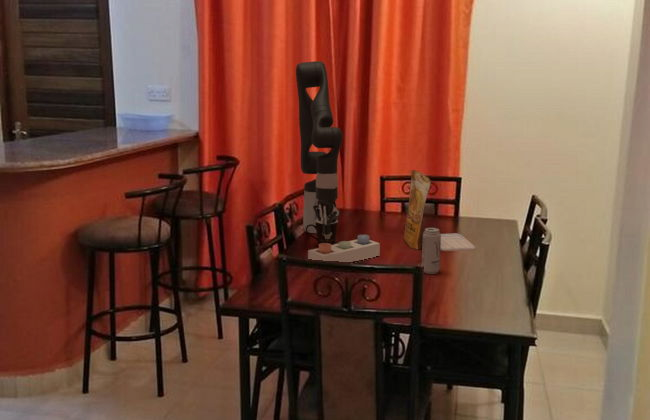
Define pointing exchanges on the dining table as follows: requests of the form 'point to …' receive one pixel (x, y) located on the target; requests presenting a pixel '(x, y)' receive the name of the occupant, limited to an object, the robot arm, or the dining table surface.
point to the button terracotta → (324, 248)
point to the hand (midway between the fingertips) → (326, 234)
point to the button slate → (363, 239)
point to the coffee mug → (322, 237)
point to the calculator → (455, 243)
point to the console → (347, 252)
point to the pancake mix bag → (416, 209)
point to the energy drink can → (431, 250)
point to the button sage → (344, 245)
